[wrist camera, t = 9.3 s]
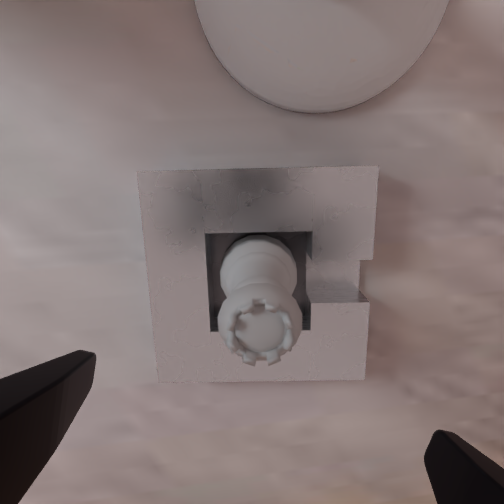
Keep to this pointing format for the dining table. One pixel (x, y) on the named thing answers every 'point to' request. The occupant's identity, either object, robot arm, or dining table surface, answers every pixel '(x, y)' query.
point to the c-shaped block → (273, 225)
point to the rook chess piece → (259, 300)
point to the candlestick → (318, 46)
